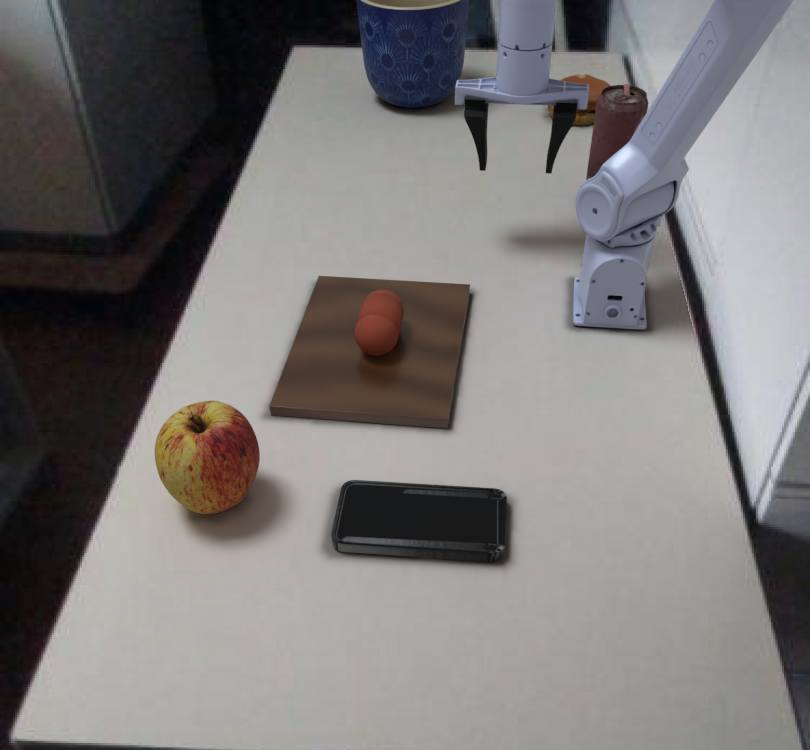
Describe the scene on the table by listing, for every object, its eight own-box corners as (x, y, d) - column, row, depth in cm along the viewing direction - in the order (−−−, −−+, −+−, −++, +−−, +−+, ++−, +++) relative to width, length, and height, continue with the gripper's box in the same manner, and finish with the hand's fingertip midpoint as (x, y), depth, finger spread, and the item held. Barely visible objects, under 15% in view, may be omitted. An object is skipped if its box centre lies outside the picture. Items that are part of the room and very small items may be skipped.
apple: (246, 542, 75) (226, 459, 68) (152, 526, 77) (121, 443, 69) (280, 471, 81) (264, 388, 73) (191, 458, 82) (167, 374, 75)
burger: (559, 130, 128) (562, 97, 124) (538, 105, 134) (541, 73, 131) (620, 122, 129) (625, 89, 126) (597, 98, 135) (601, 66, 132)
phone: (504, 554, 72) (328, 542, 73) (503, 563, 73) (330, 551, 74) (507, 488, 77) (343, 477, 78) (506, 496, 78) (344, 486, 79)
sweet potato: (391, 369, 90) (398, 333, 86) (348, 359, 89) (353, 323, 86) (403, 321, 95) (410, 286, 92) (362, 312, 95) (368, 276, 91)
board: (447, 428, 84) (447, 419, 83) (270, 415, 86) (269, 406, 85) (469, 293, 100) (470, 284, 99) (319, 284, 102) (318, 275, 101)
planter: (354, 82, 142) (347, -24, 130) (454, 72, 144) (456, -34, 132) (370, 124, 131) (364, 13, 119) (478, 113, 133) (482, 2, 121)
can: (627, 192, 115) (647, 82, 104) (631, 216, 111) (652, 103, 100) (582, 191, 115) (597, 81, 105) (583, 214, 111) (599, 102, 101)
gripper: (594, 29, 92) (578, 155, 102) (460, 26, 93) (457, 150, 104) (595, 53, 87) (578, 183, 97) (453, 50, 89) (451, 177, 99)
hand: (515, 168), depth 100 cm, fingers open, 7 cm apart
